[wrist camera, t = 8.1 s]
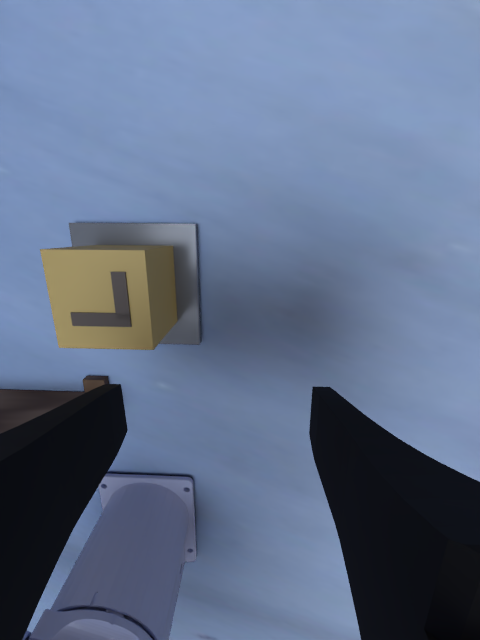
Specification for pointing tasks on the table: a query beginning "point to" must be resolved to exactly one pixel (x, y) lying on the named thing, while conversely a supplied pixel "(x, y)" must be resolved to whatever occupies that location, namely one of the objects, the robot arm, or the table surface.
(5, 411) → the wooden board
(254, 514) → the table surface
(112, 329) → the cube
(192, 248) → the coaster
